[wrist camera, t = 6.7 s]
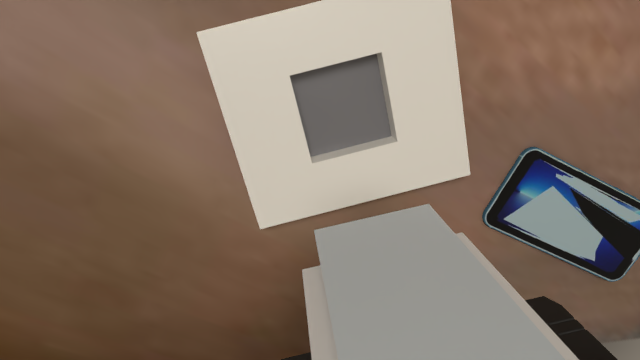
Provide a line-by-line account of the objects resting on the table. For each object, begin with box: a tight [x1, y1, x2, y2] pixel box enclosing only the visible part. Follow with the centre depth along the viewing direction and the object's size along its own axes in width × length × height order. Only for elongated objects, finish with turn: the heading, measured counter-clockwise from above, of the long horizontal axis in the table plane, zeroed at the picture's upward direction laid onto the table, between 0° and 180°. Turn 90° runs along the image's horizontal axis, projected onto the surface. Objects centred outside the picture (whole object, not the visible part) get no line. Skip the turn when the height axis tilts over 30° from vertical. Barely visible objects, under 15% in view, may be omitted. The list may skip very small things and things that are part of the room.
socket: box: [196, 0, 470, 229], centre depth 29 cm, size 16×14×2 cm
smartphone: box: [482, 147, 640, 281], centre depth 35 cm, size 7×1×15 cm
